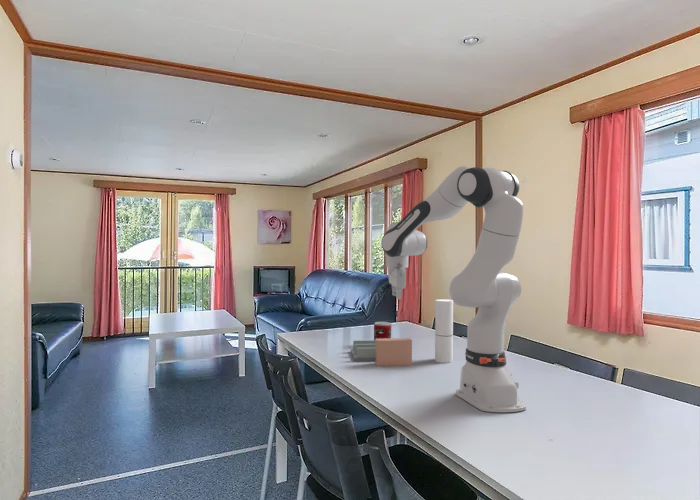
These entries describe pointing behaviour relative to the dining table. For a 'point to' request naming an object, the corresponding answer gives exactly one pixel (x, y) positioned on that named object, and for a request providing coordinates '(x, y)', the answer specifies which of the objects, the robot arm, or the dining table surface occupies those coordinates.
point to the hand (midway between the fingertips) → (396, 297)
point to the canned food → (382, 330)
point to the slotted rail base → (363, 350)
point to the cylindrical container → (444, 331)
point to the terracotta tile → (393, 352)
